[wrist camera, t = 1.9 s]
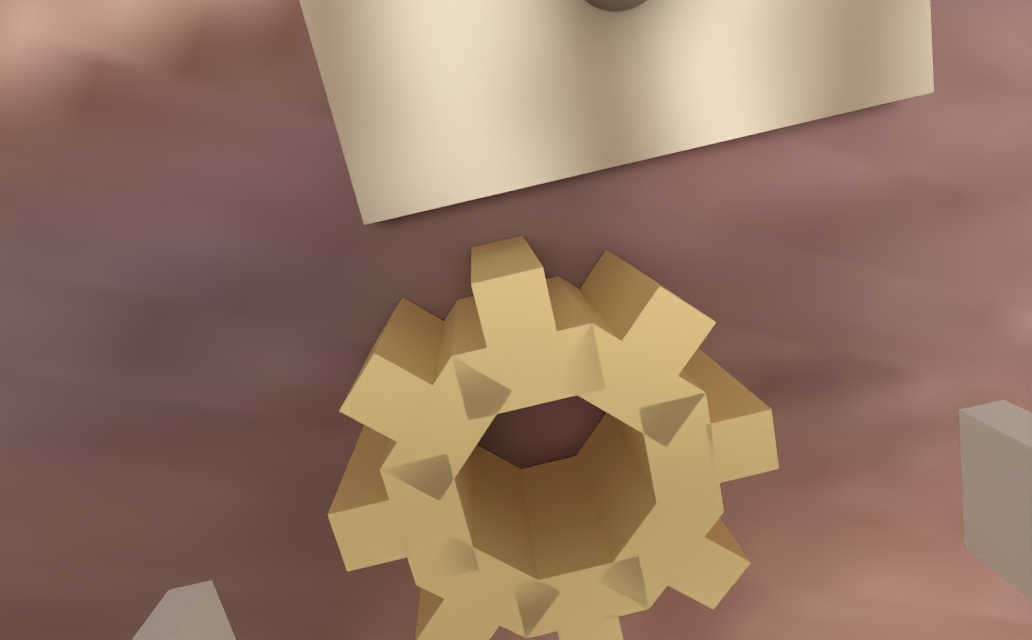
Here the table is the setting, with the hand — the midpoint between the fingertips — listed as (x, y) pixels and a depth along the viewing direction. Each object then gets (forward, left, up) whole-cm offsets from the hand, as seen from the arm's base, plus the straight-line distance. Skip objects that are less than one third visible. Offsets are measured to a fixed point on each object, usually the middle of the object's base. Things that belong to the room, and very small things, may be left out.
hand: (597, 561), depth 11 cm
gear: (0, 0, -7) cm, 7 cm away
